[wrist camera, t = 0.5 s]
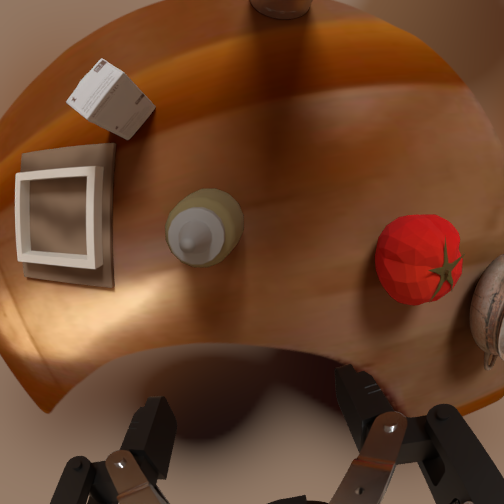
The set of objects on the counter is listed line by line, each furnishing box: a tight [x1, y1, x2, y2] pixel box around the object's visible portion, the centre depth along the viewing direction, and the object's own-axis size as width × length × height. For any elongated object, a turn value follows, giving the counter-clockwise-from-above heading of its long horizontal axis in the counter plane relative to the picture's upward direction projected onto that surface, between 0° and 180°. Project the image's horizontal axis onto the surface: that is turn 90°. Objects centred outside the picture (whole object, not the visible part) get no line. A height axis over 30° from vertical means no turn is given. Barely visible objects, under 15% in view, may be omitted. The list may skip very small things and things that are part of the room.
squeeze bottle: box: [165, 189, 244, 267], centre depth 28 cm, size 8×8×18 cm
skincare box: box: [66, 59, 155, 140], centre depth 28 cm, size 6×4×12 cm
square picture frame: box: [15, 166, 104, 269], centre depth 34 cm, size 13×15×2 cm
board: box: [21, 143, 116, 288], centre depth 35 cm, size 20×18×1 cm
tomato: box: [375, 214, 464, 306], centre depth 32 cm, size 12×12×13 cm
